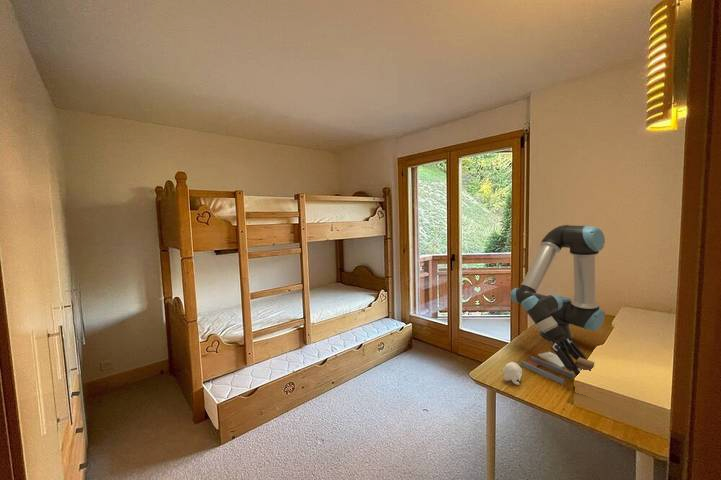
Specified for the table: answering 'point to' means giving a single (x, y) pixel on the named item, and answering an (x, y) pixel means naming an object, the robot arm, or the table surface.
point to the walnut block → (584, 364)
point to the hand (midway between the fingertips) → (592, 383)
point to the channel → (545, 373)
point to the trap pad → (533, 363)
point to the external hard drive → (552, 359)
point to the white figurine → (512, 372)
